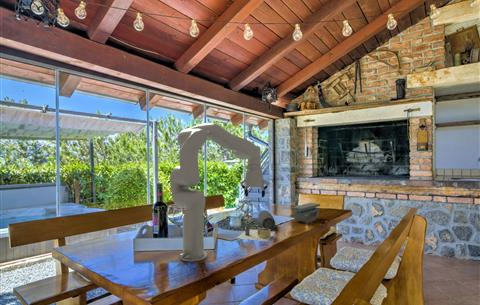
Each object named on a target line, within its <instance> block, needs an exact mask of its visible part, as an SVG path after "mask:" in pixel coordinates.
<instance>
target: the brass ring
mask: <svg viewBox="0 0 480 305" xmlns="http://www.w3.org/2000/svg"><path fill="white" fill-rule="evenodd" d="M262 228H263V227H259V228H257V230H258V237H259V238H270V237H271V231H272V230H271V229H269V228H266V230H262ZM271 238H272V237H271ZM271 238H270V239H271Z"/></svg>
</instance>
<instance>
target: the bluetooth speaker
mask: <svg viewBox="0 0 480 305" xmlns="http://www.w3.org/2000/svg"><path fill="white" fill-rule="evenodd" d="M274 218H275V217H274V216H273V215H272V214H271V213H270V212H269V211H268V210H261V211H259V212H258V216H257V219H258V221H259V224H260V226H261V228H269V229H271V231H274V229H275V227H276V220H275V219H274Z"/></svg>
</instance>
